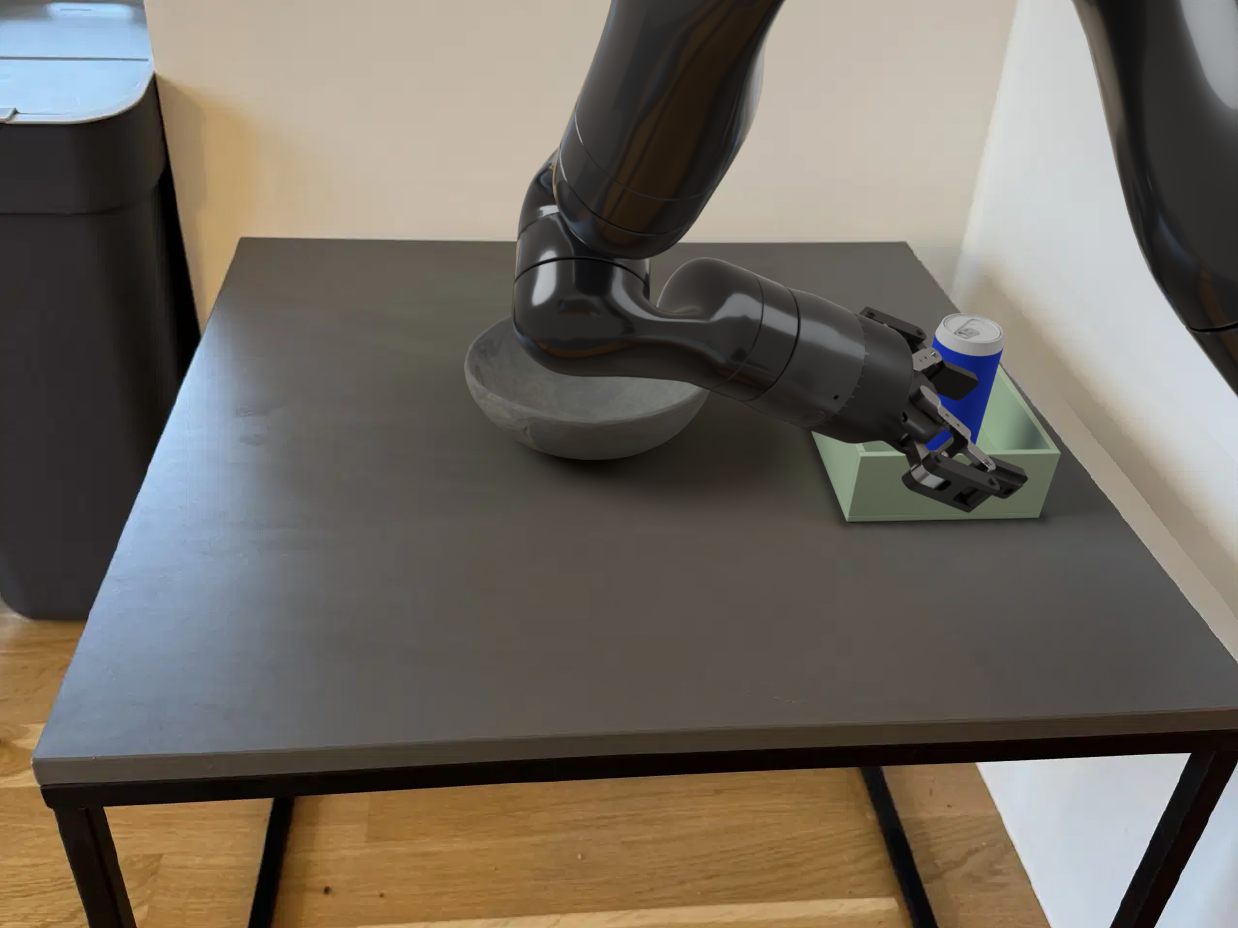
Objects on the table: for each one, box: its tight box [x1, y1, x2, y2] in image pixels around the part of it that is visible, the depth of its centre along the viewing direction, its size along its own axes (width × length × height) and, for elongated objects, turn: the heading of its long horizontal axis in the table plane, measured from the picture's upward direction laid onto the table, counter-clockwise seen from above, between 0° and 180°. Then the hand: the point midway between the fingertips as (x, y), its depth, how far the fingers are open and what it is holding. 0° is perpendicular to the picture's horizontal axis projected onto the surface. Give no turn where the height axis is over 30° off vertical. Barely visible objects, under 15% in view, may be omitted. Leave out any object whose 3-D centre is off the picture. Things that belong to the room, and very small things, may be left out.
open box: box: [810, 364, 1062, 523], centre depth 95 cm, size 16×16×7 cm
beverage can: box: [925, 312, 1005, 451], centre depth 88 cm, size 5×5×15 cm
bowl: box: [463, 313, 711, 461], centre depth 96 cm, size 21×21×8 cm
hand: (991, 434), depth 74 cm, fingers open, 8 cm apart
